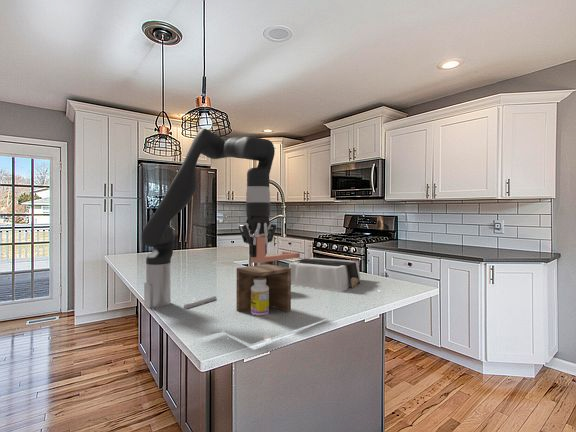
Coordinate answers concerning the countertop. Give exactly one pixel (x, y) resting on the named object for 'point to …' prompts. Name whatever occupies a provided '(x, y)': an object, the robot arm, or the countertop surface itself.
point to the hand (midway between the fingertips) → (258, 256)
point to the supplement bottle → (259, 297)
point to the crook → (262, 258)
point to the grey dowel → (199, 302)
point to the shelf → (275, 280)
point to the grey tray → (325, 274)
